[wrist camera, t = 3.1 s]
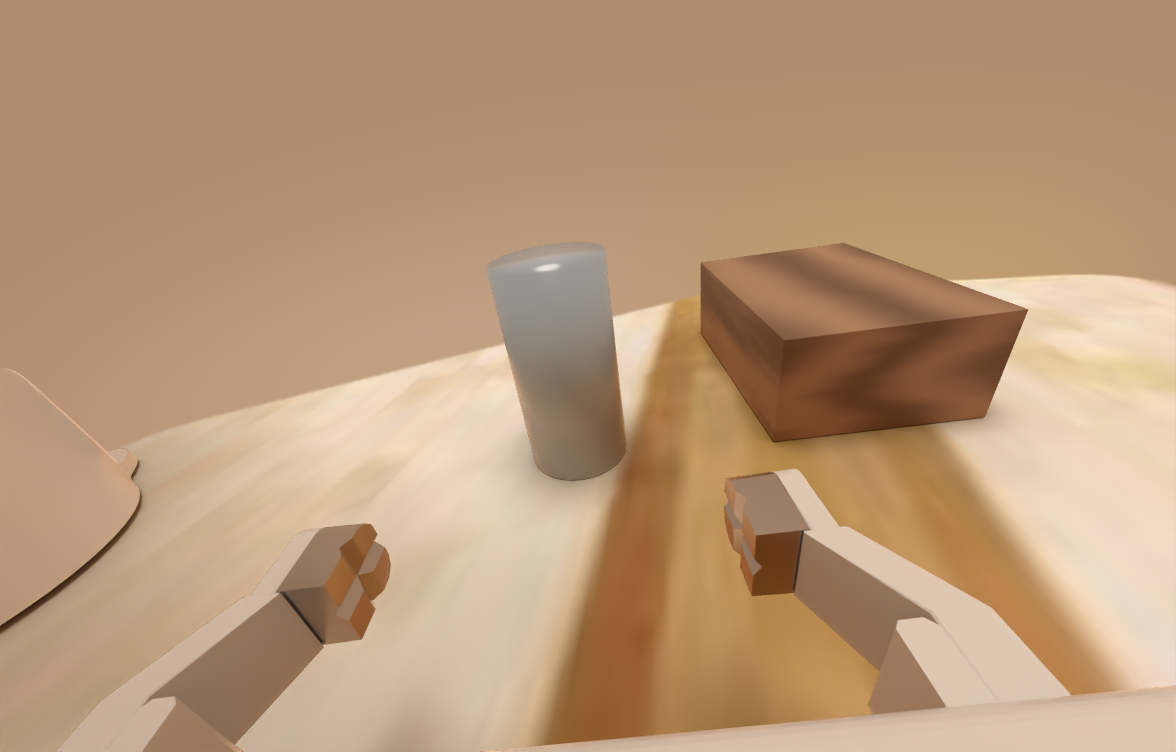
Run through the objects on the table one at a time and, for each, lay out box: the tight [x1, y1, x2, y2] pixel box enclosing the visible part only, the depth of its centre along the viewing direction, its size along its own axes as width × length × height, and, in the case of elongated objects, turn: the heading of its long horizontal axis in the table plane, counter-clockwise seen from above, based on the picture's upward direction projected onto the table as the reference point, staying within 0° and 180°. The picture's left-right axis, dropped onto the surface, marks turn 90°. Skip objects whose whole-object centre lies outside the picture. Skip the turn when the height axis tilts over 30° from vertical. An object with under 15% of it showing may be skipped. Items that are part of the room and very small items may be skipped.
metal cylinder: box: [486, 242, 626, 480], centre depth 21 cm, size 5×5×11 cm
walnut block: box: [701, 243, 1028, 442], centre depth 27 cm, size 11×15×6 cm
